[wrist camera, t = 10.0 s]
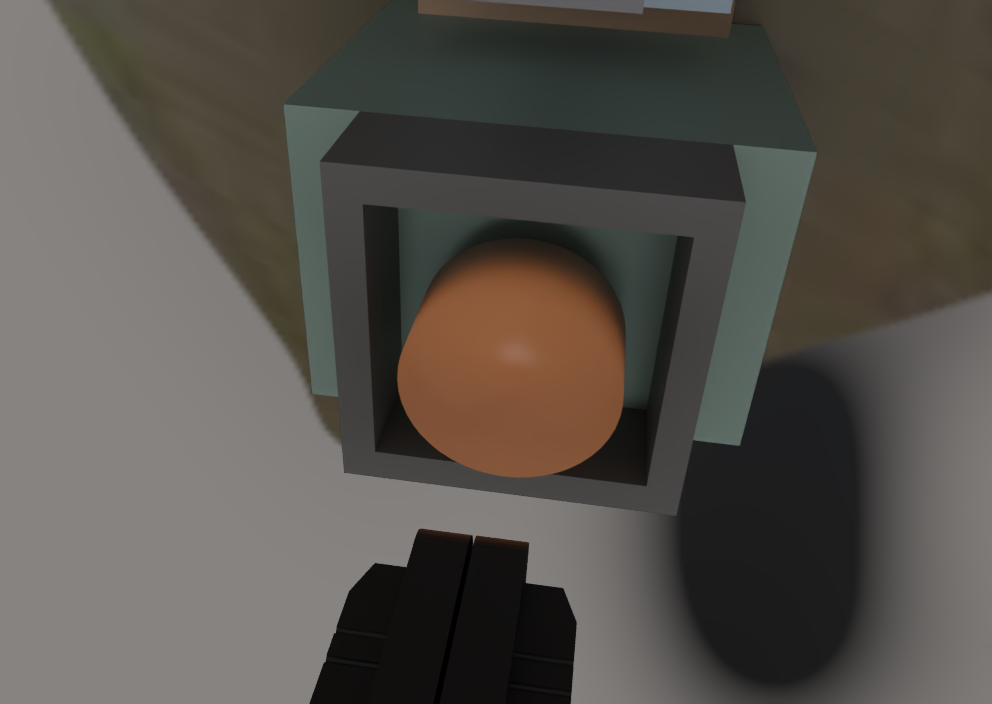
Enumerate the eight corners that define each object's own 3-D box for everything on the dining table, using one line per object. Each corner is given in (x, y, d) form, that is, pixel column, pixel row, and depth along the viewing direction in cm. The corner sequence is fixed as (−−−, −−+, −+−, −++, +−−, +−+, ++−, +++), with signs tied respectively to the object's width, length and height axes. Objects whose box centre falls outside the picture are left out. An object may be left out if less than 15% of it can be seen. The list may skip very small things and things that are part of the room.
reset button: (420, 228, 16) (394, 281, 14) (638, 250, 16) (638, 307, 14) (421, 399, 18) (399, 463, 17) (612, 423, 18) (609, 490, 16)
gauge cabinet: (378, -5, 24) (207, 150, 15) (763, 25, 23) (842, 211, 14) (386, 224, 28) (256, 461, 19) (714, 258, 27) (750, 525, 18)
